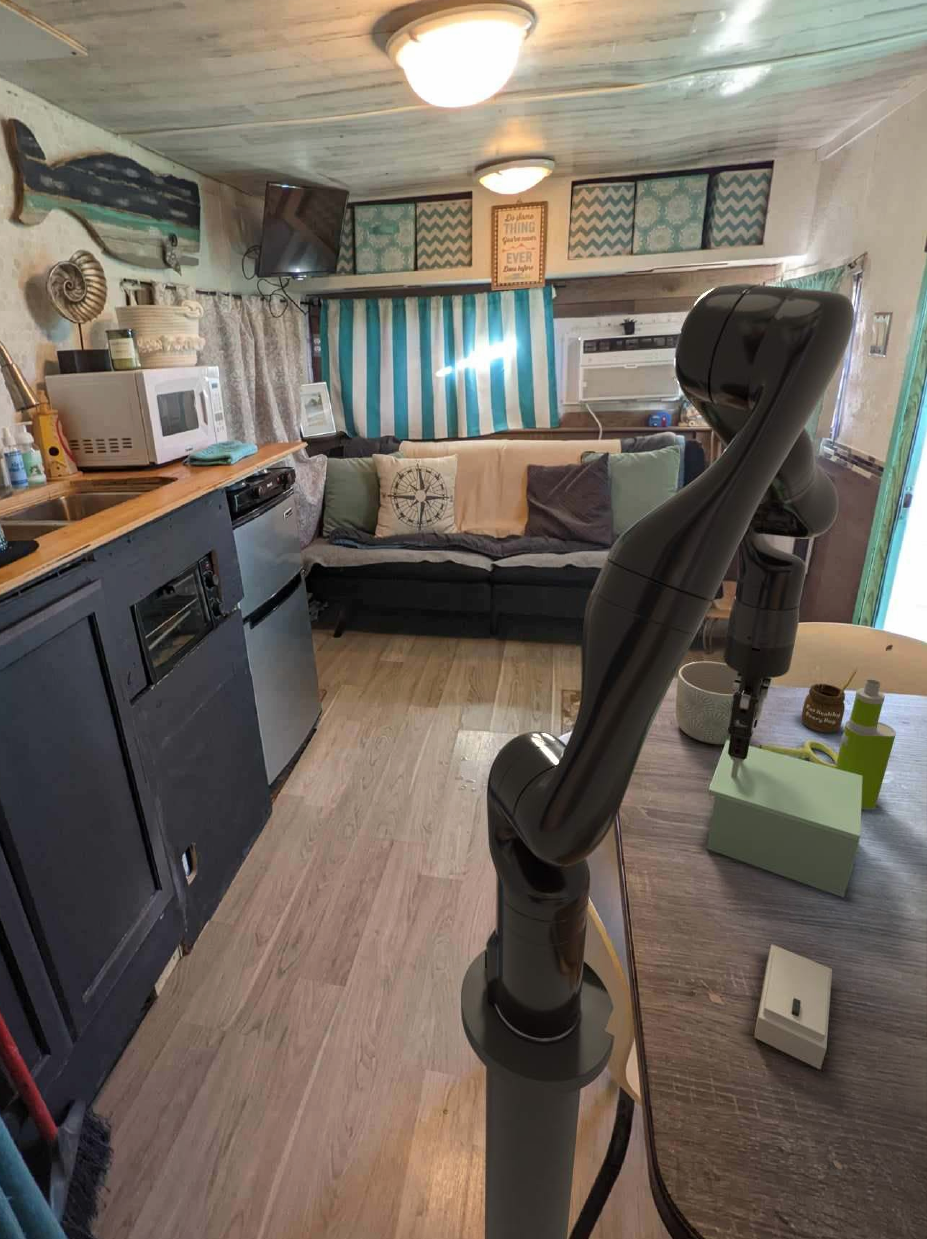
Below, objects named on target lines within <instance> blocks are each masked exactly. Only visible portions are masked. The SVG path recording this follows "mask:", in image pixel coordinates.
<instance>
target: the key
mask: <svg viewBox="0 0 927 1239" xmlns="http://www.w3.org/2000/svg"><path fill="white" fill-rule="evenodd" d="M758 748H759V749H763V750H767V751H771V752H775V753H778V754H782V755H786V756H790V757H798V759H801V760H805V758H807V759H808V761H809V762H812V763H816V764H820V765H824V766H828V767H831V768H835V766H836V762H837V758H838V754H839V753H837V752H836V751H835V750H834V749H832V748H831V747H829V746H828V745H826V744H825V743H822V742H820V741H817V740H807V741H806V742H805V743H804V745H803V747H801V746H800V747H798V748H791V747H784V746H778V745H777V746H776V745H768V744H760V743H759V746H758ZM812 749H816V750H819V751H821V752H823V753H825V754H827V756H829V757H830V758H831V759H832V760H833V761H834V763H835V764H834V763H829V762H826V761H824V760H823V759H821V758H820V757H819V756H817V755H816V754H815V753H814V752H813V750H812Z"/></svg>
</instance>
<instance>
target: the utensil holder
mask: <svg viewBox="0 0 927 1239" xmlns="http://www.w3.org/2000/svg"><path fill="white" fill-rule="evenodd" d="M815 669H817V671H816V672H817V674H816V675H817V681H819V669H823V670H822V671H821V672H822V674H823V676H822V681H823V682H822V683H815V681H814V680H815V678H814V676H812V674H814V671H815ZM857 669H858V667H855V668H854V670H853V671H852V673H851V674H850V676H849V677H848V679H847V680H846V682H845V684H844V686H843V687H842V689H841V688H839V687H837V686H835V685H831V684H827V682H825V680H826V674H824V673H827V671H826V670H825V669H824V668H822V666H814V667H813V668H811V670H810V671H809V679H810V680H811V681H810V683H811V686H810V688H809V690H808V694H807V695H806V696H805V699H804V702H803V707H802V711H801V716H800V717H801V718H800V720H801V723H802V724H803V725H804V726H806V727H807V728H808V729H810V730H813V731H815V732H818V733H825V734H832V733H836V732H838V731H839V730H840V728H841V726H842V722H843V718H844V714H845V709H846V704H845V700H846V693H845V690H846V689H847V687H848V686H849V685H850V683H851V682H852V680H853V678H854V677H855V675H856V674H857Z"/></svg>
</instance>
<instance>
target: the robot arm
mask: <svg viewBox="0 0 927 1239" xmlns="http://www.w3.org/2000/svg"><path fill="white" fill-rule="evenodd" d="M854 322H855V309H854V305H853V302H852V301H851V300H850V298H848V296H847V295H844V294H843V293H839V292H835V291H829V290H821V289H814V288H813V289H812V288H799V287H788V286H787V287H786V286H774V285H764V284H762V285H761V284H755V283H730V284H727V283H726V284H719V285H717V286H714V287H713V288H710V289H709V290H706V292H705V293H703V294H702V295H701V296H700V297H699V298H698V299H697V301H695V303H694V304H693V305H692V307H691V309H689V312H688V313H687V315H686V317H685V319H684V321H683V322H682V325H681V328H680V331H679V334H678V337H677V341H676V344H675V350H674V373H675V377H676V381H677V383H678V387H679V388H680V390H681V392H682V394H683V395H684V396H685V397H686V399H687V400H688V401H689V403H690V404H691V405H692V406H693V407H694V409H695V410H696V411H697V412H698V413H699V415H700V416H701V418H702V419H703V420H704V422H705V423H706V424H707V426H708V427H709V428H710V430H711V431H712V432H713V433H714V435H715V436H716V437H717V438H718V440H719V441H720V443H721V444H722V445H723V447H724V448H725V449H724V451H723V452H722V453H721V454H720V455H719V457H717V459H716V460H715V461H713V463H711V465H710V466H709V467H707V468H706V469H705V470H704V471H703V472H701V474H700V475H698V477H696V478H695V479H693V481H691V482H690V483H689V484H687V485H686V486H684V487H683V488H682V489H680V490H679V491H677V492H676V493H675V494H673V495H671V496H670V497H668V498H667V499H665V500H664V501H662V502H661V503H659V504H658V505H657V506H655V507H654V508H652V509H651V510H649V511H648V512H646V513H645V514H644V515H643V516H641V517H640V518H639V519H637V520H636V521H635V522H634V523H632V524H631V525H629V527H627V528H626V529H625V530H624V531H623V532H622V533H621V534H620V535H619V536H618V537H617V539H616V540H615V541H614V543H613V545H612V546H611V547H610V550H609V552H608V554H607V556H606V560H604V563H603V565H602V567H601V569H600V572H599V574H598V576H597V578H596V581H595V582H594V584H593V587H592V590H591V592H590V594H589V597H588V599H587V602H586V605H585V607H584V608H585V609H584V612H583V615H582V623H581V640H580V665H581V666H580V667H581V668H580V670H581V672H580V696H579V705H578V711H577V715H576V719H575V723H574V725H573V729H572V731H571V733H570V736H569V739H568V741H567V743H565V742H564V741H562V740H561V739H560V738H558V737H557V736H555V735H553V734H551V733H548V732H544V731H528V732H525V733H521V734H519V735H516V736H514V737H513V738H511V739H510V740H509V741H507V743H505V745H504V746H502V748H501V749H500V750H499V752H498V753H497V755H496V756H495V758H494V759H493V761H492V763H491V767H490V770H489V773H488V777H487V786H486V813H487V814H486V815H487V816H486V817H487V836H488V837H487V838H488V849H489V854H490V858H491V861H492V864H493V867H494V870H495V927H494V929H493V931H492V933H491V934H490V935H489V937H488V939H487V941H486V943H485V945H486V948H485V949H486V950H485V949H484V950H485V968H486V969H487V1003H488V1004H490V1005H491V1006H493V1007H494V1008H495V1009H496V1012H497V1014H498V1016H499V1018H500V1020H501V1021H502V1023H503V1024H504V1025H505V1026H506V1027H507V1029H509V1030H510V1031H511V1032H512V1033H513V1034H515V1035H516V1036H518V1037H519V1038H521V1039H523V1040H525V1041H528V1042H531V1043H535V1044H544V1045H545V1044H554V1043H558V1042H560V1041H562V1040H564V1039H566V1038H567V1037H569V1036H570V1035H571V1034H572V1033H573V1031H574V1030H575V1029H576V1027H577V1025H578V1022H579V1018H580V1009H581V1005H580V1003H581V992H582V983H583V982H582V974H583V962H584V961H585V951H586V950H585V949H586V939H587V938H586V937H587V928H588V913H589V903H590V902H589V900H590V888H591V872H590V867H589V864H588V861H587V858H588V857H589V856H590V855H591V854H593V853H594V852H595V851H596V849H597V848H598V847H599V846H600V845H601V843H602V842H603V841H604V840H605V838H606V836H607V835H608V833H609V832H610V830H611V828H612V826H613V824H614V822H615V821H616V818H617V815H618V814H619V811H620V809H621V806H622V803H623V800H624V798H625V795H626V793H627V790H628V787H629V785H630V782H631V780H632V776H633V773H634V770H635V768H636V765H637V763H638V760H639V757H640V755H641V752H642V750H643V747H644V745H645V741H646V739H647V737H648V734H649V732H650V730H651V728H652V725H653V723H654V720H655V718H656V716H657V714H658V712H659V709H660V707H661V706H662V704H663V701H664V699H665V697H666V696H667V693H668V690H669V689H670V686H671V684H672V682H673V680H674V677H675V676H676V674H677V673H678V671H679V669H680V665H681V664H682V661H683V660H684V658H685V656H686V655H687V653H688V651H689V649H690V647H691V646H692V644H693V642H694V640H695V639H696V637H697V635H698V633H699V631H700V629H701V627H702V625H703V623H704V621H705V619H706V618H707V615H708V613H709V611H710V609H711V608H712V605H713V601H715V598H716V596H717V595H718V592H719V590H720V588H721V587H722V583H723V581H724V579H725V577H726V575H727V572H728V570H729V568H730V566H731V563H732V561H733V560H734V557H735V555H736V553H737V551H738V572H737V573H738V574H737V582H736V587H735V595H734V599H733V603H732V606H731V609H730V613H729V619H728V625H727V632H726V639H725V646H724V651H723V652H724V653H723V662H724V664H727V666H729V667H730V668H731V669H733V670H735V671H737V672H738V673H737V678H736V679H735V680H734V684H733V692H734V694H733V699H732V703H731V708H730V711H731V713H732V714H731V719H730V725H729V727H728V734H730V735H731V737H730V743H729V749H728V754H729V755H730V756H732V757H735V758H739V759H746V758H747V755H748V749H749V746H750V744H751V738H752V737H753V735H754V733H755V731H754V729H755V728H757V725H758V722H759V720H760V719H761V716H762V712H763V706H764V702H765V700H767V699H768V695H769V691H770V689H771V684H772V679H773V678H774V679H775V678H780V677H783V676H784V675H787V673H788V672H789V671H790V668H791V664H792V658H793V653H794V649H795V643H796V639H797V633H798V628H799V622H800V603H801V599H802V595H803V588H804V583H805V579H806V572H807V565H806V563H805V561H804V560H803V559H802V558H801V557H799V556H798V555H795V554H793V553H790V552H788V551H784V550H782V549H779V548H778V547H775V546H773V545H772V544H770V542H769V541H768V539H767V538H766V536H775V537H784V538H790V539H791V538H792V539H801V540H807V539H808V540H809V539H813V538H818V537H819V536H821V535H823V534H825V533H826V532H828V530H829V529H830V528H831V527H832V526H833V524H834V523H835V521H836V518H837V515H838V512H839V497H838V492H837V489H836V486H835V484H834V482H833V481H832V479H831V478H830V477H829V475H828V474H827V473H826V472H825V471H824V470H823V469H822V468H821V467H820V466H819V465H818V464H817V463H816V459H815V458H816V457H815V449H814V444H813V441H812V438H811V435H810V433H809V431H808V430H807V428H806V427H805V426H806V425H807V423H808V422H809V420H810V418H811V416H812V415H813V413H814V411H815V410H816V408H817V406H818V404H819V403H820V401H821V399H822V397H823V396H824V394H825V393H826V391H827V388H828V387H829V385H830V383H831V381H832V379H833V378H834V376H835V374H836V373H837V370H838V368H839V366H840V364H841V362H842V360H843V357H844V354H845V352H846V350H847V347H848V345H849V342H850V339H851V335H852V332H853V328H854ZM737 720H739V724H736V723H737Z"/></svg>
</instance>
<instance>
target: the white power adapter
mask: <svg viewBox="0 0 927 1239" xmlns="http://www.w3.org/2000/svg"><path fill="white" fill-rule="evenodd" d="M832 976H833V969H832V968H831V967H828V966H826V965H824V964H821V963H819V962H817V961H813V960H811V959H809V958H806V957H804V956H801V955H800V954H797V953H794V952H792V951H789V950H787V949H785V948H782V947H780V946H777V945H776V944H770V948H769V953H768V956H767V962H766V967H765V972H764V978H763V984H762V989H761V996H760V1001H759V1006H758V1013H757V1019H756V1024H755V1030H754V1035H753V1036H754V1037H753V1038H754V1039H756V1040H759V1041H761V1042H763V1043H764V1044H766V1045H769V1046H771V1047H773V1048H775V1049H777V1050H779V1051H781V1052H783V1053H785V1054H787V1055H789V1056H791V1057H793V1058H795V1059H798V1060H800V1061H801V1062H804V1063H805V1064H808V1065H810V1066H811V1067H814V1068H816V1069H818V1070H821V1069H822V1067H823V1066H822V1065H823V1062H824V1059H825V1056H826V1052H827V1046H828V1031H829V1018H830V1007H831V1006H830V1004H831V990H832V989H831V988H832V978H833V977H832Z"/></svg>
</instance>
